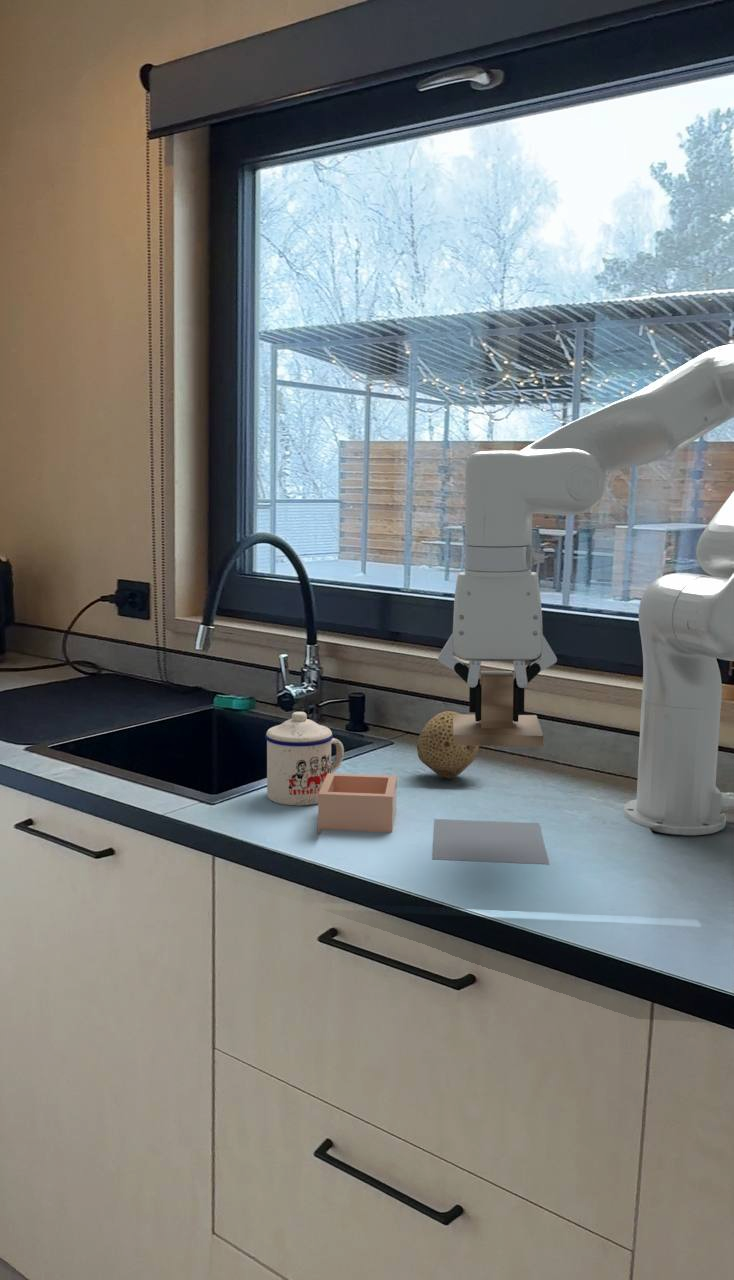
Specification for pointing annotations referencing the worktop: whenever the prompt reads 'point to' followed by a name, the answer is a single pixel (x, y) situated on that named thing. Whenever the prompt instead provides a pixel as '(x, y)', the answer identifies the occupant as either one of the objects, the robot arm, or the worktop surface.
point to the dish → (357, 802)
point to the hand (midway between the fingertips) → (496, 717)
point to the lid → (497, 717)
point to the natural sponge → (444, 747)
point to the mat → (488, 841)
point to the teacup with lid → (299, 760)
